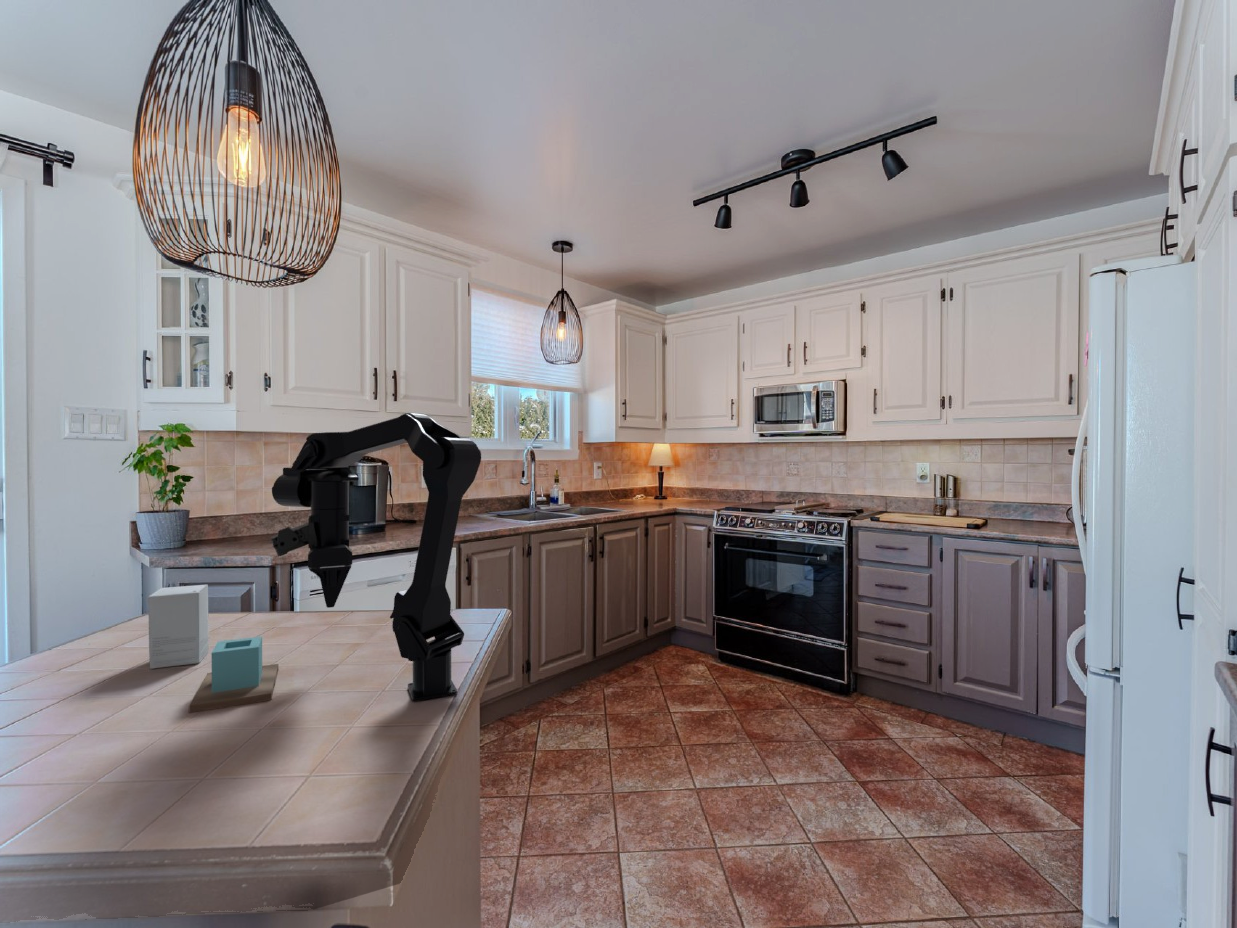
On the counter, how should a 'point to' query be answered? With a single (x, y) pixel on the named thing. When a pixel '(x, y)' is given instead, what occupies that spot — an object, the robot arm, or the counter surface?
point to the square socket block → (236, 664)
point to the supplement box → (178, 626)
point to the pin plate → (234, 692)
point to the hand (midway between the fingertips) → (330, 600)
